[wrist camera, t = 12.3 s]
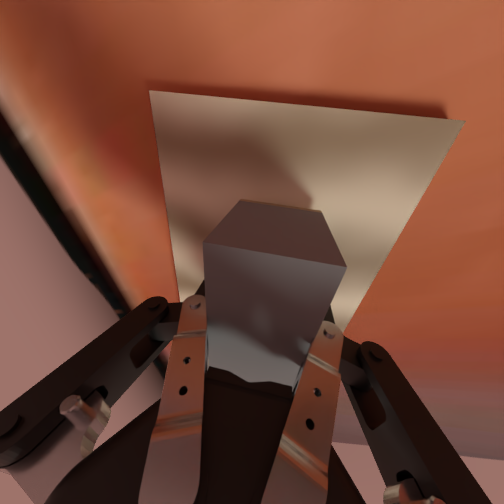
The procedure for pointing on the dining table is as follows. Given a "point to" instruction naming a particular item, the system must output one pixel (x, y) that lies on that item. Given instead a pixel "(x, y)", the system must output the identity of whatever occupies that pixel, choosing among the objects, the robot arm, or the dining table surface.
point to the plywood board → (295, 175)
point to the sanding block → (268, 288)
